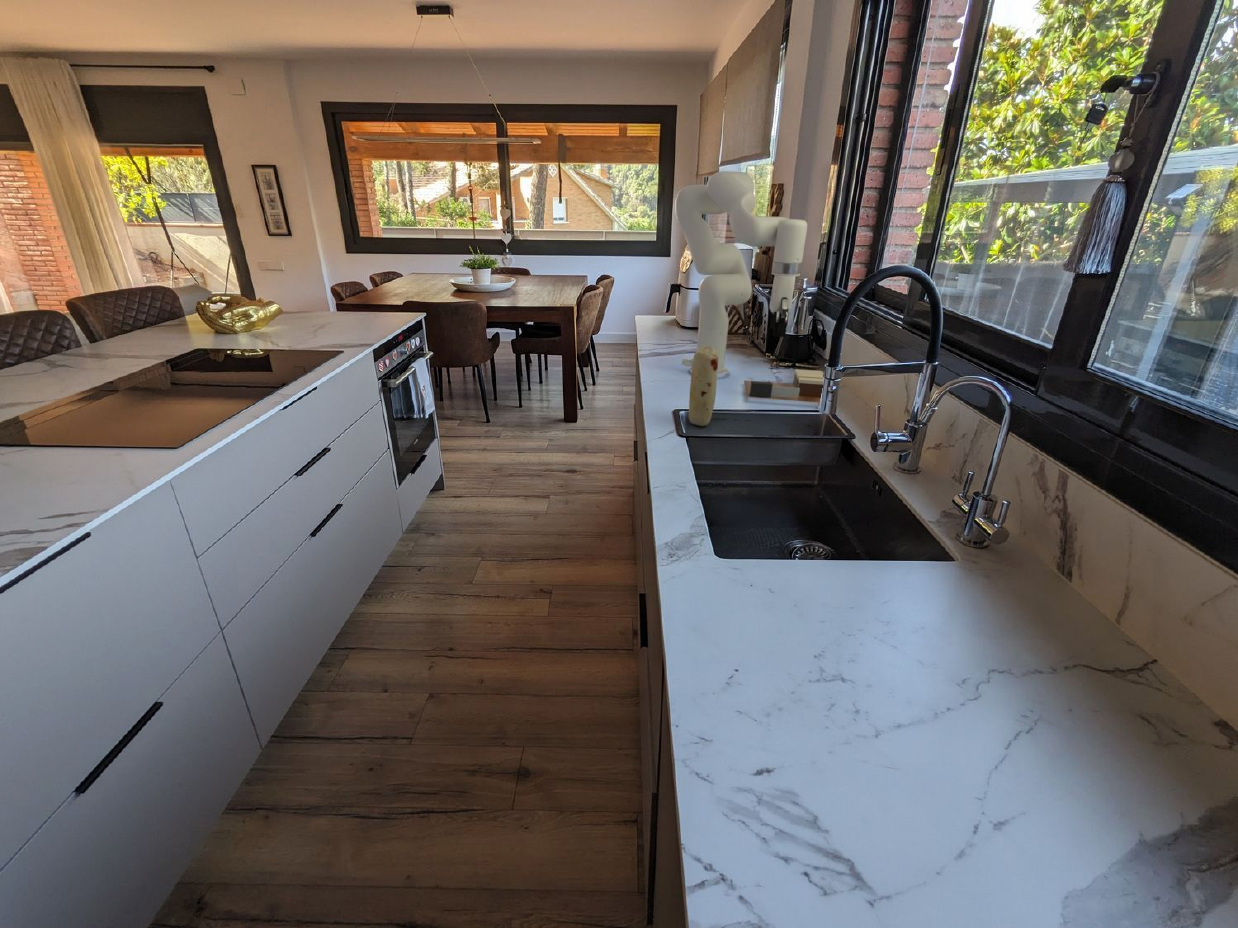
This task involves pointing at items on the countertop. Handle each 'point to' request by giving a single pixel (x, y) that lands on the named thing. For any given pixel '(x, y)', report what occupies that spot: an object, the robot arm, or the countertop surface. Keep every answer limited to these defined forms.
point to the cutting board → (800, 398)
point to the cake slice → (810, 387)
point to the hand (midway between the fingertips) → (777, 332)
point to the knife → (772, 390)
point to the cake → (806, 375)
